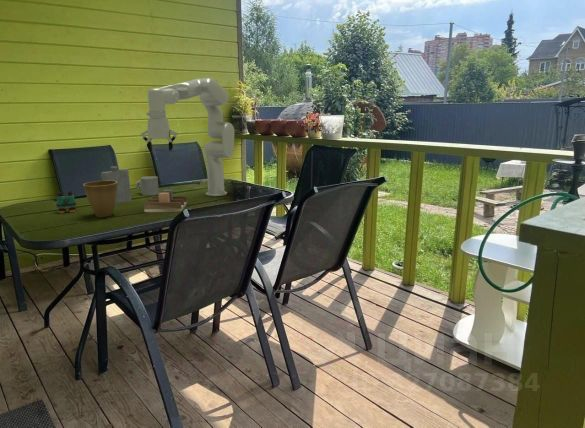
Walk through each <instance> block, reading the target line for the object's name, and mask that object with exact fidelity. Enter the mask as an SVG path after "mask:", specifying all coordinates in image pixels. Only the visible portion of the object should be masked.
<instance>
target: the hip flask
mask: <svg viewBox="0 0 585 428" xmlns="http://www.w3.org/2000/svg"><path fill="white" fill-rule="evenodd" d="M109 167H110V171H109V170H108V171H102V172H100V176H101V181H105V180H111V181H117V194H116V202H115V205H117V204H120V203H125V202H132V195H131V184H130V173H129V172H130V171H129V169H128V168H127V169H122V168H121V169H118V166H117V165H116V166H113V165H112V166H109Z"/></svg>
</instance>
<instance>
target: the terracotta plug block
mask: <svg viewBox="0 0 585 428" xmlns="http://www.w3.org/2000/svg"><path fill="white" fill-rule="evenodd" d="M157 196H159V202H170V196H169V192H167V193H162V192H159V194H157Z"/></svg>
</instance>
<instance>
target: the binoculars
mask: <svg viewBox="0 0 585 428" xmlns="http://www.w3.org/2000/svg"><path fill="white" fill-rule="evenodd" d="M76 206H77V202H76V200H75V195H74V194H73V190H71V191H68V192H67V195H66V196H64V195H63V192H60V191H59V192H58V191H57V196H56V208H57V209H58V213H59V214H65V213H66V211H67V210H66V209H68V211H69V213H75V212H76V209H77V207H76Z"/></svg>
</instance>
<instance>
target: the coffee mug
mask: <svg viewBox="0 0 585 428" xmlns="http://www.w3.org/2000/svg"><path fill="white" fill-rule="evenodd" d="M139 184H140V186H139ZM135 186H136V189H137V190H139V191H140V192H141V195H142V196H146V195H150V196H156V195H157V196H158V194H159V193H160V189H159V188H160V187H159V177H158V176H155V175H154V176H141V177H140V178H139V180H137V181H136V182H135Z"/></svg>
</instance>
